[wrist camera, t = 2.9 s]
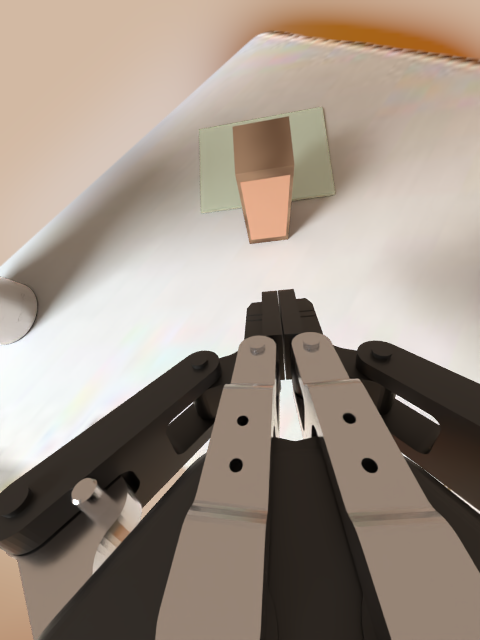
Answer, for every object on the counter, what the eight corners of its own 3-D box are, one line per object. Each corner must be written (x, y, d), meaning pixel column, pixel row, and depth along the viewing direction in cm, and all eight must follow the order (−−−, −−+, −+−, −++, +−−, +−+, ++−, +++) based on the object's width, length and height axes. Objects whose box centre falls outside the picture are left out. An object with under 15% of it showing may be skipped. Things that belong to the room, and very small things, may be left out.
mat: (201, 213, 35) (200, 211, 34) (199, 131, 38) (199, 129, 37) (334, 194, 32) (335, 192, 32) (321, 109, 35) (322, 106, 35)
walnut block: (249, 244, 33) (235, 174, 21) (247, 210, 34) (232, 126, 22) (288, 239, 32) (294, 165, 20) (284, 205, 33) (289, 116, 21)
